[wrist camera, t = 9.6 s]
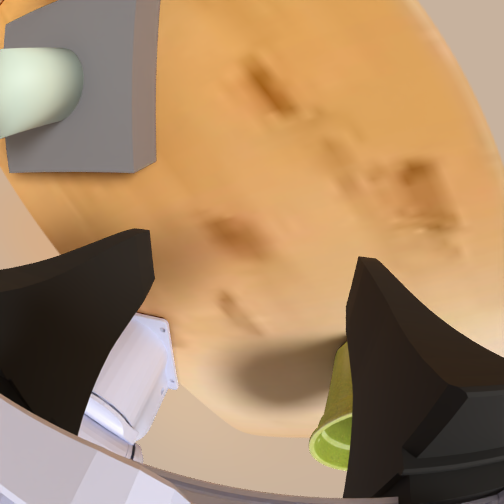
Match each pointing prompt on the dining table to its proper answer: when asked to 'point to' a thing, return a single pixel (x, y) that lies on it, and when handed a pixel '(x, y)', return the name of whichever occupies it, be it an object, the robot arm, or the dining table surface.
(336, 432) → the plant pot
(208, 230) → the dining table surface
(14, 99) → the sage cylinder
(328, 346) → the dining table surface
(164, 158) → the dining table surface
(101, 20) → the gray square block
